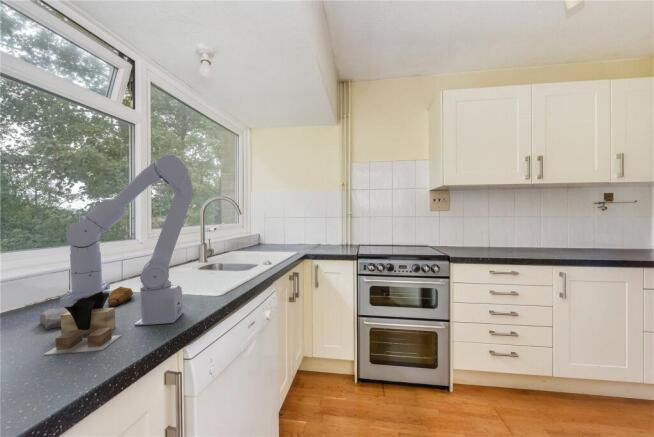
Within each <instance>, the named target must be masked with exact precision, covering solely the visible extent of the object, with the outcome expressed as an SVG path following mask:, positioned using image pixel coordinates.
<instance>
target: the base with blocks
mask: <svg viewBox="0 0 654 437" xmlns="http://www.w3.org/2000/svg"><path fill="white" fill-rule="evenodd" d="M121 337H122V335H121V334H118V335H113V334H112V330H111V328H99V329H98V330H96V331H94V332H93V333H91V334H87V337H84V336H83V334H82V330H71V331H68V332H66V333H65V334H63V335H59V336H57V337H56V338H55V347H54V348H52V349H49V351H46V352H45V353H43V356H48V355H51V356H53V355H61V354H63V355H64V354H72V353H73V354H74V353H85V352H86V353H89V352H95V351H96V352H97V351H99V352H100V351H104V350H105V349H106V348H108V347H109V346H110V345H112V344H113V343H114V342H115V341H117V340H118V339H119V338H121Z"/></svg>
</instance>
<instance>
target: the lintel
mask: <svg viewBox="0 0 654 437" xmlns="http://www.w3.org/2000/svg"><path fill="white" fill-rule="evenodd" d="M99 328H111V331H112V330H113V329H115V328H116V308H115V307H106V308H105V307H103V308H101V309H92V313H91V324H90V328H89V329H88V330H82V335H90V334H91V333H93V332H94V331H96V330H98V329H99ZM60 329H61V330H60V332H61V335H63V334H65V333H66V332H68V331H71V330H78V328H77V326H76V323H75V321H74V319H73V317H72V315H71V314H70V313H69V311H68V312H66V313H64V314H62V315H61V327H60ZM61 335H60V336H61Z"/></svg>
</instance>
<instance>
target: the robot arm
mask: <svg viewBox="0 0 654 437" xmlns="http://www.w3.org/2000/svg"><path fill="white" fill-rule="evenodd" d="M188 170H189V169H188V167H187V166H186V164H185V163H184V162H183V161H182V159H181V158H180V157H178V156H176V155H175V154H170V153H167V154H163V155H161V156H159V157H158V159H157V160H156V161H153V162H151V163H150V164H148V166H146V167H145V168H144V169H143V170H141V172H139V174H137V175H136V176H135V177H134V178H133V179H132V180H131V181H130V182H129V183H128V184H127V185H126V186H125V187H124V188H123V189H122V190H121V191H120V192H118V194H117V195H116V196H115V197H105V198H103V199H102V200H101V199H98V200H97V201H96V202H95V203H94V204H95V205H96V206H95V207H93V208H92V209H91V210H90V211H89V212H88V213H87V214H86V215H81V216H80V217H79V218H78V219H79V220H80V221H78V222H75V223H74V222H73V223H72V224H70V226H69V227H68V229H67V230H66V232H65V238H66V240H67V242H68V243H69V244H70V245H69V249H70V253H69V254H70V255H69V259H70V261H69V262H70V279H71V282H70V283H71V289H68V290H67V291H66V295H65V296H63V297H61V298H59V301H60V303H59V304H60V308H66V309H67V310H68V311H69V313H70V314H71V315H72V317H73V319H74V321H75V323H76V326H77V328H78V330H88V329H89V328H90V324H91V313H92V309H101V308H105V304H106V302H107V301H108V299H109V295H110V292H107V291H108V290H110V289H111V285H110V284H111V283H110V281H103V279H102V278H103V273H102V271H103V270H102V256H101V254H102V253H101V250H100V246H101V245H100V241H101V239H103V234H104V233H107V232H108V231H109V230H110V229H111V228H112V227H113V226H114V225H115V224H117V223H118V222H119V221H120V220H121V219H122V218H123V217H124V216H126V215H127V206H128V205H129V204H130V203H131V202H133V201H134V200H135V199H136V198H137V197H139V195H140V194H142V193H143V192H144V191H145V190H146V189H147V188H149V187H150V186H152V185H157V184H161V183H162V180H163V181H164V182H165V183H166V184H167V185H168V186H169V188H170V190H171V192H172V193H173V194H174V196H173V197H172V201H171V204H170V206H169V208H168V211H167V215H166V217H165V220H164V223H163V225H162V228H161V232H160V234H159V235H158V239H157V242H156V244H155V247H154V250H153V253H152V256H151V258H150V260H149V261H148V262H147V263H146V264H145V265H144V267H143V268H142V271H141V273H140V276H139V278H140V280H139V281H140V283H141V284H142V285H140V287H139V288H140V290H139V292H140V313H141V314H140V317H141V318H140V319H139V320H137V321H136V322H135V323H134V324H133V325H134V326H147V325H148V326H149V325H160V324H172V323H173V324H174V323H175V322H176V321H177V320H178V319H179V318H180V316H182V315H183V314H184V312H185V311H184V310H183V309H184V307H183V290H182V289H183V288H182V287H181V286H180V285H173V284H172V282H171V280H169V277H170V273H169V272H170V267H169V266H170V264H171V260H172V256H173V253H174V250H175V248H176V245H177V242H178V240H179V237H180V234H181V230H182V228H183V225H184V222H185V219H186V216H187V214H188V211H189V208H190V205H191V202H192V201H193V197H194V194H195V190H194V187H193V185H192V184H193V183H192V180H191V178H190V175H189V171H188ZM161 179H162V180H161ZM104 291H106V292H104Z"/></svg>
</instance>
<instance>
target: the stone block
mask: <svg viewBox="0 0 654 437" xmlns="http://www.w3.org/2000/svg"><path fill="white" fill-rule="evenodd" d="M66 312H68V310H67V309H66V308H65V307H60V308H48V309H46V310H44V311H43V312H42V313H41V314H40V315H39V321H40V322H39V324H40V325H42V326H43V327H44V328H45V329H46V330H48V329H49V330H50V329H54V328H61V315H62V314H64V313H66Z"/></svg>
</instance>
